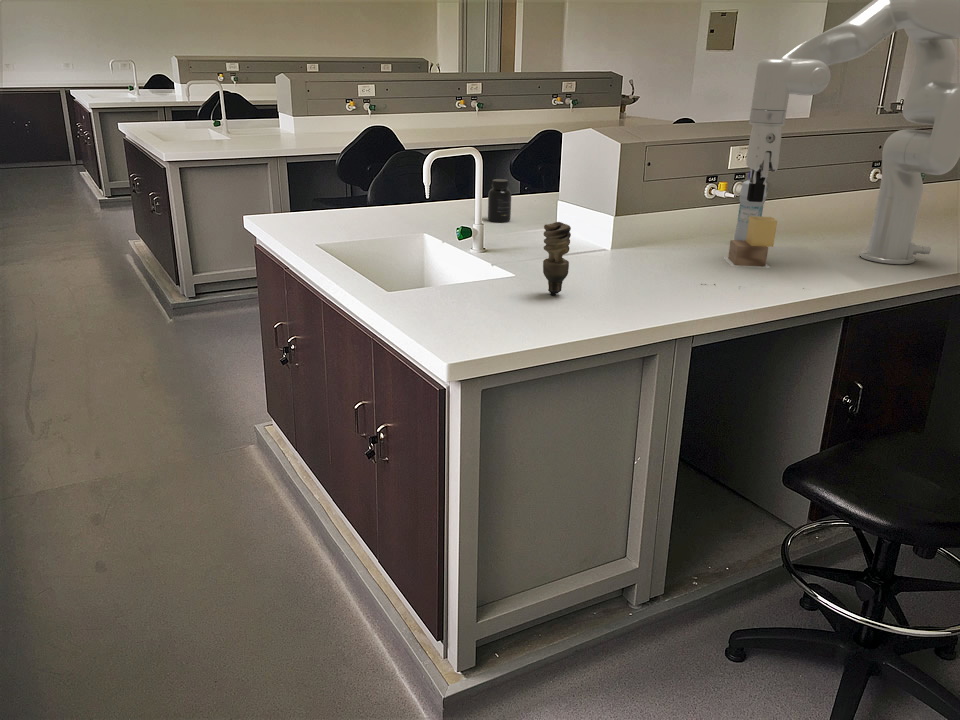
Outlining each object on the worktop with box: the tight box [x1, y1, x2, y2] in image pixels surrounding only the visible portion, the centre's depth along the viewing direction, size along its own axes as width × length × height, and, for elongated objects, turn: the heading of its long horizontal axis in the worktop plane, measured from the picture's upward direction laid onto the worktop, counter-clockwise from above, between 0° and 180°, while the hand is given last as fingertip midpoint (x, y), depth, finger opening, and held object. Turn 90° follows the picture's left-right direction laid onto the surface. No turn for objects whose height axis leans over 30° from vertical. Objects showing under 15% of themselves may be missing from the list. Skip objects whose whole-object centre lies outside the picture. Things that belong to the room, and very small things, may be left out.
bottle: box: [733, 171, 768, 241], centre depth 207 cm, size 7×7×20 cm
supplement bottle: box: [487, 178, 512, 224], centre depth 233 cm, size 7×7×12 cm
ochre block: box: [746, 216, 778, 248], centre depth 184 cm, size 5×5×6 cm
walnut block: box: [728, 239, 769, 267], centre depth 186 cm, size 7×7×4 cm
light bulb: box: [542, 221, 572, 296], centre depth 159 cm, size 6×6×15 cm
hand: (754, 201), depth 181 cm, fingers closed
